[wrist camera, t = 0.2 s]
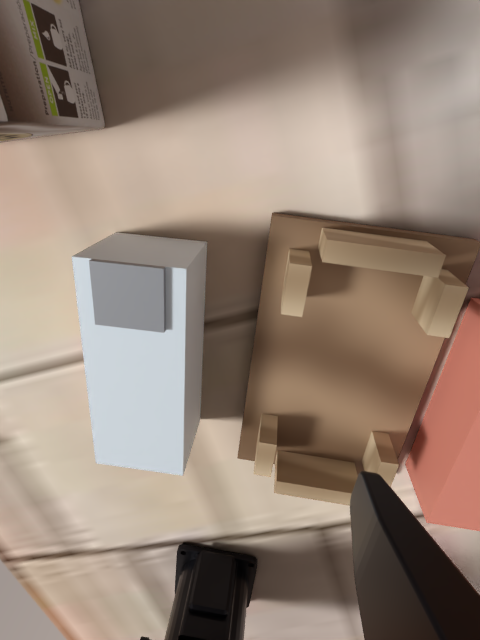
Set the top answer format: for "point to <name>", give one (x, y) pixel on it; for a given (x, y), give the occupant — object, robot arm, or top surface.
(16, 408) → the top surface
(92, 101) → the coffee box
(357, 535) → the robot arm
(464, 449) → the salmon pink slab
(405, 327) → the jig
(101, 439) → the pale blue slab
